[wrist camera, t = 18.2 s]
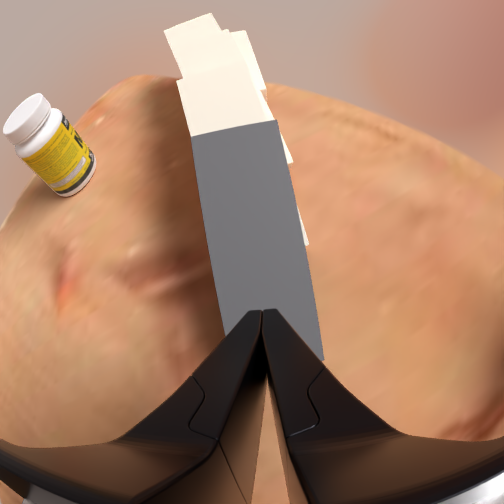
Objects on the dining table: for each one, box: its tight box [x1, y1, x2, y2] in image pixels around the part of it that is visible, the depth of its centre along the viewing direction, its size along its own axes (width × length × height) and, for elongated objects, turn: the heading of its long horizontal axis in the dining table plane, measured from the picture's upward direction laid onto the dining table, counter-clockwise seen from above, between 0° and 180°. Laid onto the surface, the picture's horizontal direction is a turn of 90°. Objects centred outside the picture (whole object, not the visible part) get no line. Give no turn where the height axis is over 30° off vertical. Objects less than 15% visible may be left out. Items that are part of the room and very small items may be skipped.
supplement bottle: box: [3, 93, 96, 196], centre depth 19 cm, size 5×5×8 cm
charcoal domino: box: [191, 120, 324, 361], centre depth 15 cm, size 2×4×12 cm
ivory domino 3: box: [172, 29, 293, 171], centre depth 19 cm, size 2×4×12 cm
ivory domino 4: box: [176, 60, 309, 246], centre depth 17 cm, size 2×4×12 cm
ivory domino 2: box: [230, 30, 267, 102], centre depth 25 cm, size 2×4×12 cm
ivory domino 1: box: [164, 13, 222, 69], centre depth 21 cm, size 2×4×12 cm
